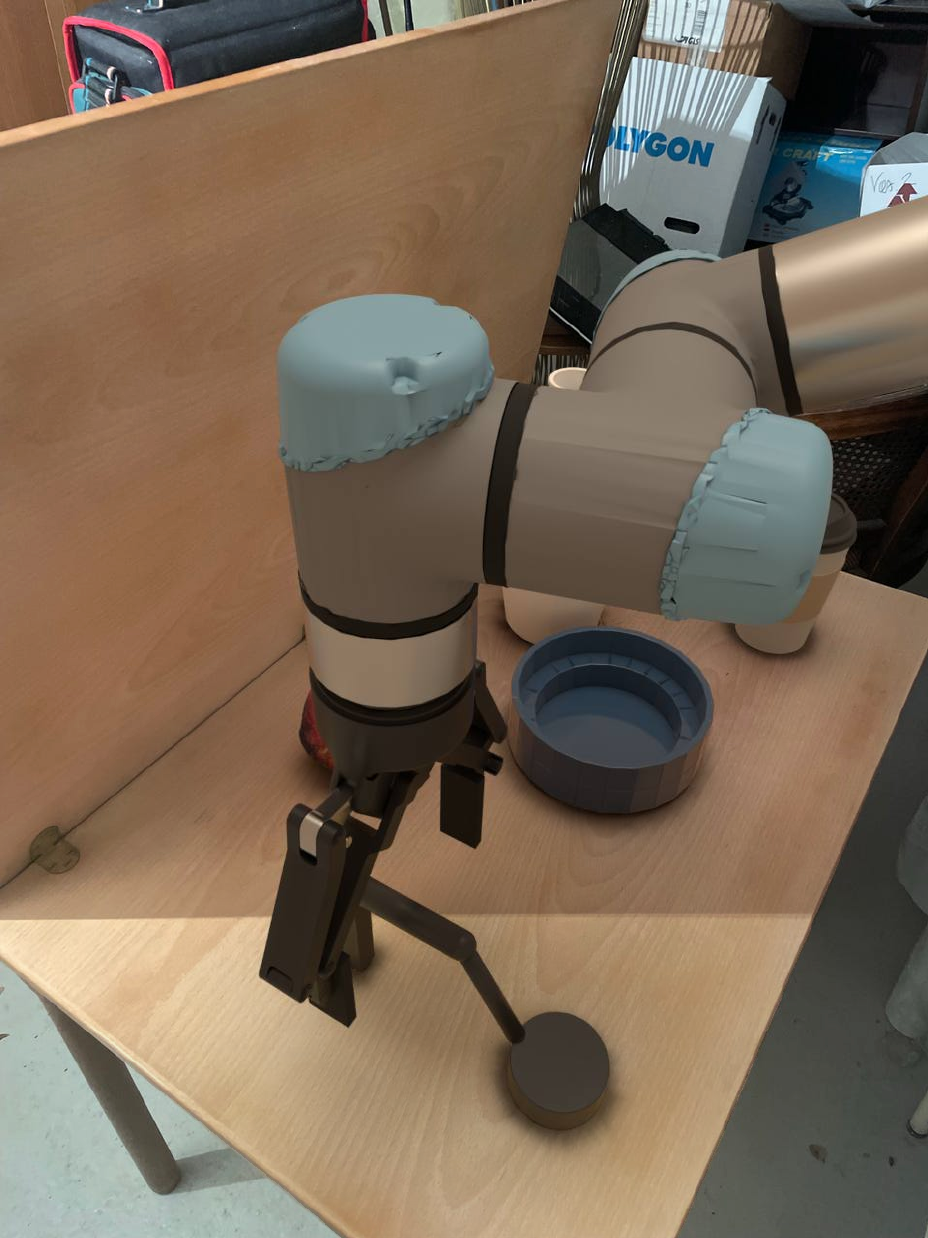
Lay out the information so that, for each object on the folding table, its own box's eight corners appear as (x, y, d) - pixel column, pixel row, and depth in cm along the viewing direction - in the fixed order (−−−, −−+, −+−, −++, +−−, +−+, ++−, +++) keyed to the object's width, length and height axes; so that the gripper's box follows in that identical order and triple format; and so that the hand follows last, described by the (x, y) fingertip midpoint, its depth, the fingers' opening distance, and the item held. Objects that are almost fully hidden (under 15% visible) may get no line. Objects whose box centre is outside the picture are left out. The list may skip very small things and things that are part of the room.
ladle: (620, 1060, 56) (643, 981, 50) (579, 1151, 52) (599, 1076, 46) (373, 918, 64) (366, 833, 57) (320, 988, 60) (306, 904, 53)
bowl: (725, 718, 79) (740, 669, 75) (656, 851, 68) (670, 801, 64) (560, 652, 85) (565, 603, 81) (473, 764, 74) (475, 714, 71)
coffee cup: (704, 627, 88) (737, 497, 79) (756, 590, 93) (793, 463, 83) (785, 675, 83) (830, 543, 74) (836, 632, 88) (884, 503, 78)
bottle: (533, 672, 83) (556, 423, 67) (474, 604, 90) (482, 365, 74) (630, 635, 87) (675, 392, 71) (566, 573, 95) (593, 340, 78)
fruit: (409, 782, 73) (407, 713, 68) (316, 807, 71) (306, 738, 66) (382, 716, 78) (378, 648, 73) (295, 738, 76) (284, 669, 71)
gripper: (463, 503, 50) (456, 756, 64) (119, 811, 34) (209, 1063, 47) (586, 546, 47) (550, 801, 61) (275, 905, 31) (323, 1144, 44)
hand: (401, 916), depth 54 cm, fingers open, 13 cm apart
